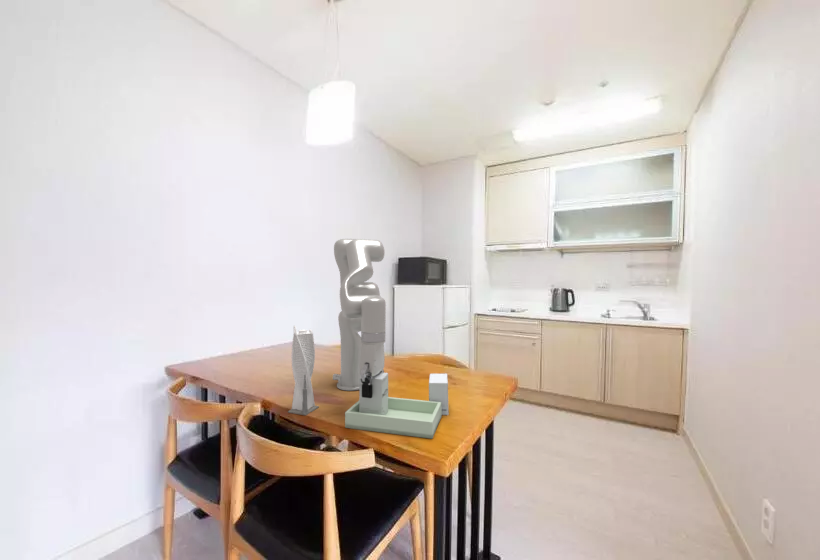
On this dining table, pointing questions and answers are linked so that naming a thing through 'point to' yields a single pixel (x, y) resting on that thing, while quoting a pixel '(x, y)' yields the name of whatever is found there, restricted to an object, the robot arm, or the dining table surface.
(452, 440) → the dining table surface
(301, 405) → the skyscraper
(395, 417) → the tray
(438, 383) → the skincare box
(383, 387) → the supplement box
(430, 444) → the dining table surface
